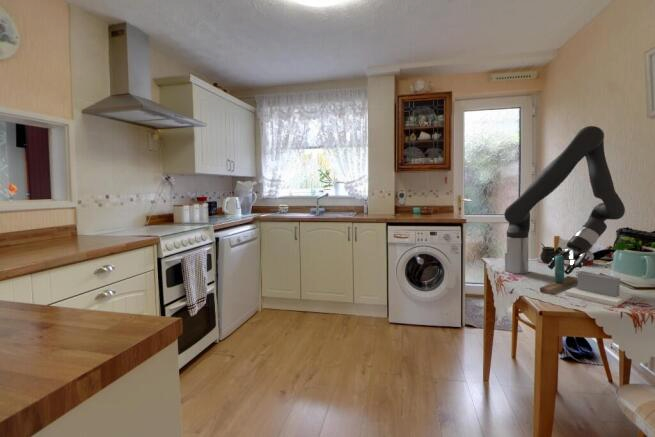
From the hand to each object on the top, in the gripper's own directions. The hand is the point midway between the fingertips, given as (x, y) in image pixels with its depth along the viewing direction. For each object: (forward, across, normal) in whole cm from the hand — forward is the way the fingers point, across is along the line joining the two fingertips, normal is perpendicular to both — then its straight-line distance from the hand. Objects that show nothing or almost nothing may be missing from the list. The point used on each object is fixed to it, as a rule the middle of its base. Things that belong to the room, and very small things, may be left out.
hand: (557, 270), depth 140 cm
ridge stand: (+1, +14, +8) cm, 16 cm away
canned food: (-21, -28, +32) cm, 48 cm away
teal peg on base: (+4, 0, +6) cm, 7 cm away
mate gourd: (-13, -36, +23) cm, 44 cm away
